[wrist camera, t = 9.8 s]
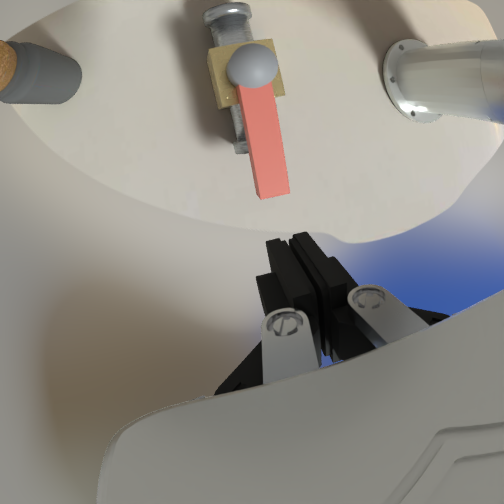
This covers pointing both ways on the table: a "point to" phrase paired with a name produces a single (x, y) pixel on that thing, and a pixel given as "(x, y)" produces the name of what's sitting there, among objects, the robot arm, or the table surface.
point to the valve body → (226, 42)
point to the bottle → (36, 75)
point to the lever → (260, 116)
